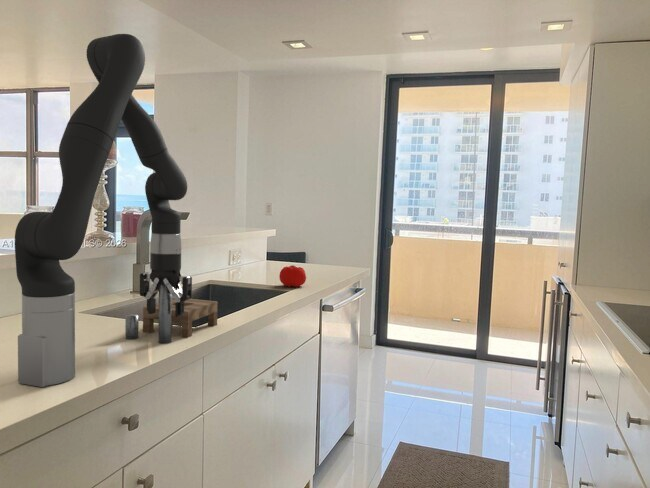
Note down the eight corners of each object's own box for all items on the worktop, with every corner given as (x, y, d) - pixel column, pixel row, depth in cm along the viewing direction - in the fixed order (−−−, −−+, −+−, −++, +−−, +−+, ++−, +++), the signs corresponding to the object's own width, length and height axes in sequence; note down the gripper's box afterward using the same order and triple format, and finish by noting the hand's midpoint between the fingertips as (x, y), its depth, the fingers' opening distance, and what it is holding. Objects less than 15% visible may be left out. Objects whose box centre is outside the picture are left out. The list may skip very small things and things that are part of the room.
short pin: (133, 339, 132) (133, 317, 132) (122, 338, 133) (122, 315, 133) (140, 337, 135) (141, 314, 135) (130, 335, 136) (130, 313, 136)
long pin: (166, 344, 129) (167, 285, 128) (155, 342, 130) (156, 284, 129) (173, 341, 132) (174, 283, 131) (163, 339, 133) (163, 282, 132)
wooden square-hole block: (187, 337, 136) (188, 311, 136) (142, 332, 140) (143, 306, 140) (217, 324, 151) (217, 301, 151) (175, 320, 155) (176, 297, 155)
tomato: (305, 288, 222) (305, 268, 221) (277, 287, 222) (278, 267, 222) (306, 284, 233) (307, 265, 232) (280, 283, 233) (280, 264, 232)
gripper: (132, 250, 128) (132, 315, 129) (182, 254, 124) (181, 320, 125) (150, 248, 135) (150, 309, 136) (198, 251, 131) (197, 314, 132)
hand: (165, 314), depth 131 cm, fingers open, 7 cm apart
